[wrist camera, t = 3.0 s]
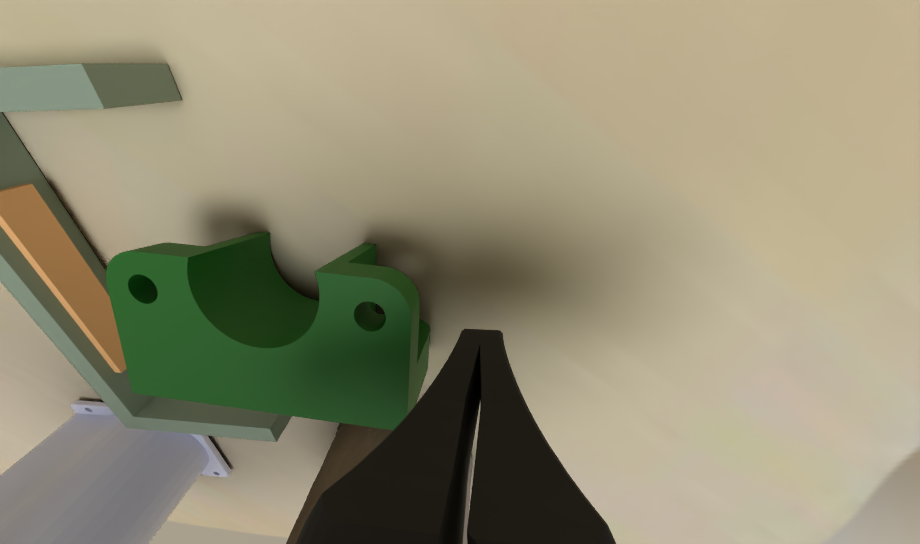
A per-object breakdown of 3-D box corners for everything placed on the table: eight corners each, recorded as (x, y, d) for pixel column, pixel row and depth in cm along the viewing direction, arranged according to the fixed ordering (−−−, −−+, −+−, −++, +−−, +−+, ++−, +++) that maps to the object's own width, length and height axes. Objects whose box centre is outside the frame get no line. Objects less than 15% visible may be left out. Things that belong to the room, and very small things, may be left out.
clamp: (415, 229, 20) (464, 281, 12) (410, 322, 22) (451, 425, 14) (162, 222, 16) (-25, 294, 8) (182, 336, 18) (46, 490, 10)
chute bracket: (168, 388, 23) (126, 428, 21) (-50, 74, 14) (-177, 76, 11) (303, 398, 22) (276, 441, 20) (166, 63, 13) (81, 63, 10)
